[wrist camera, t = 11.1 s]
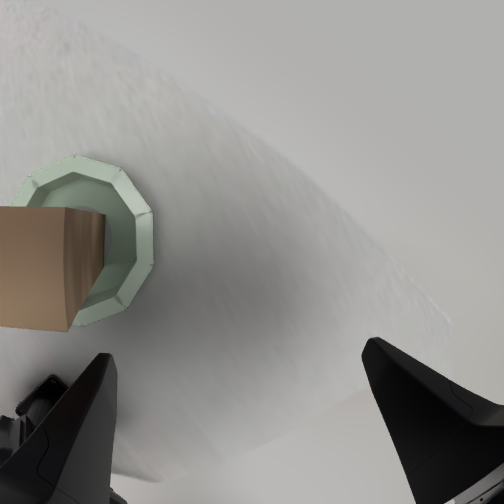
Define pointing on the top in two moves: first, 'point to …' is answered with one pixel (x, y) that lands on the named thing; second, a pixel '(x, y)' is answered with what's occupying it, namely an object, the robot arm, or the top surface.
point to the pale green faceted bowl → (116, 226)
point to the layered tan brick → (47, 264)
